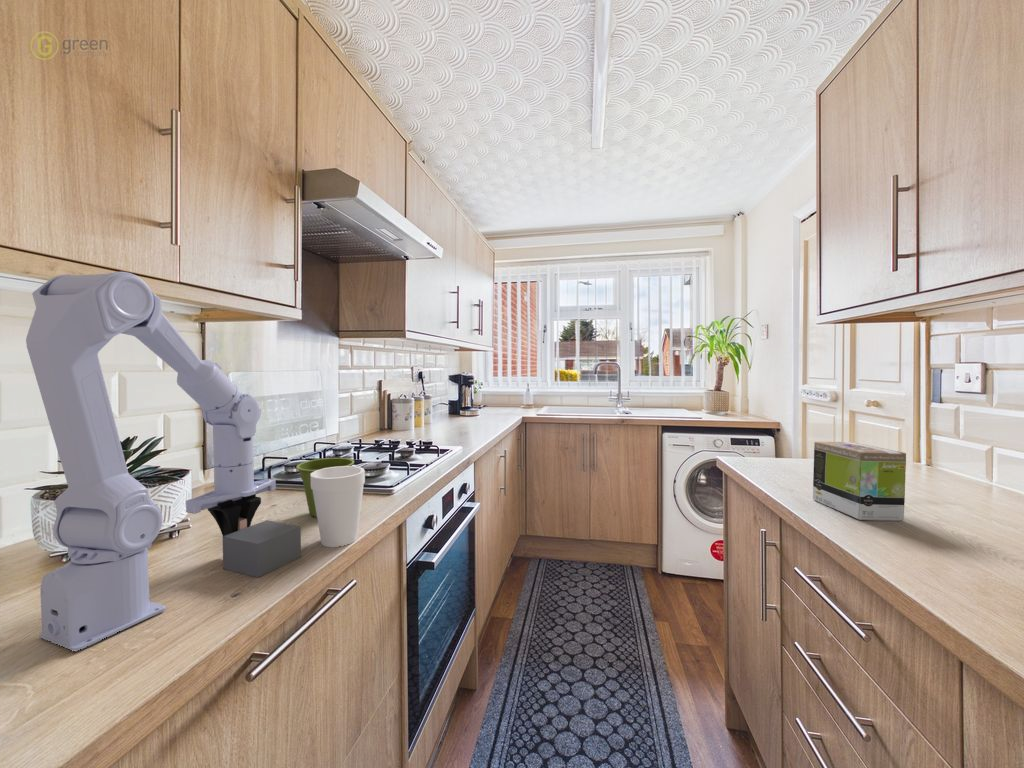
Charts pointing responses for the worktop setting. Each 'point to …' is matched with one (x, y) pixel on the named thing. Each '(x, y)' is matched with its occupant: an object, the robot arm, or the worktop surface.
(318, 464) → the plant pot
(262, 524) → the grey square box
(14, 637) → the worktop surface
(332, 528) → the foam cup
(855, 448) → the tea box
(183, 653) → the worktop surface
